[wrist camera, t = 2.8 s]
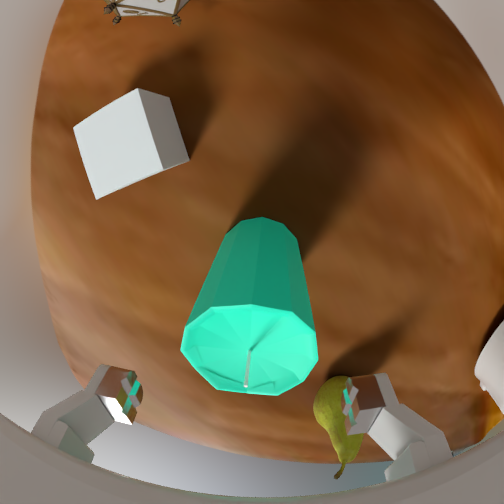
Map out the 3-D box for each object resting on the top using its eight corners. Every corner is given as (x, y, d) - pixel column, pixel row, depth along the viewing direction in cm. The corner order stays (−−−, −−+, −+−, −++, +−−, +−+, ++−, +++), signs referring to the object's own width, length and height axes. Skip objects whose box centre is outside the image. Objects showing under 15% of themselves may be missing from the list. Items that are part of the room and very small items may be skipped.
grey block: (169, 97, 16) (137, 88, 12) (190, 160, 18) (163, 169, 13) (113, 125, 17) (73, 127, 12) (132, 183, 19) (96, 199, 14)
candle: (220, 214, 19) (157, 318, 8) (304, 219, 19) (341, 333, 8) (220, 286, 22) (180, 413, 11) (295, 291, 21) (307, 424, 11)
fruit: (358, 392, 27) (376, 481, 16) (309, 398, 27) (315, 491, 16) (367, 360, 24) (395, 461, 13) (312, 367, 25) (322, 475, 14)
